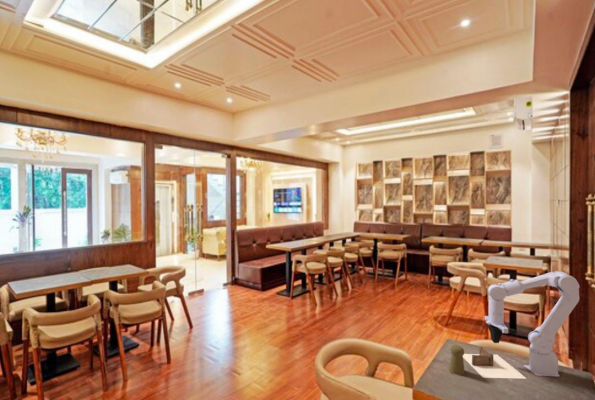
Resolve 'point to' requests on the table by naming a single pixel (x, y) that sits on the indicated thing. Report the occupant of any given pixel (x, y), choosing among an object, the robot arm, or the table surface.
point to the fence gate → (480, 360)
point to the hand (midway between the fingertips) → (495, 342)
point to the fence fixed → (483, 352)
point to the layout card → (495, 368)
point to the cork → (457, 360)
